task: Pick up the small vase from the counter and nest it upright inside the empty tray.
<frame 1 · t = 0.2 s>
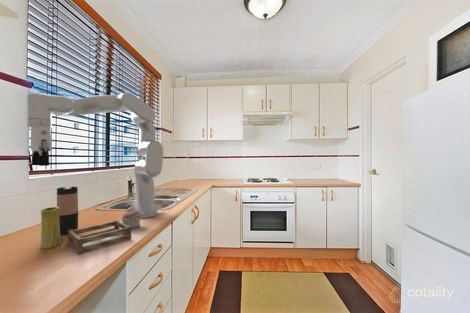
hand: (40, 165, 93), 31 cm above the counter, fingers open, 9 cm apart
travel mug: (68, 232, 101), on the counter
tray: (100, 241, 90), on the counter
vase: (51, 246, 86), on the counter
cupcake: (132, 227, 107), on the counter
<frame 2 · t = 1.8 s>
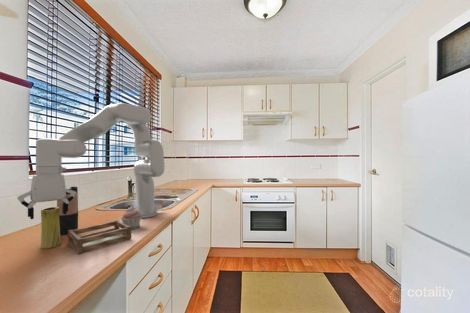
hand: (48, 215, 85), 12 cm above the counter, fingers open, 9 cm apart
nothing on the counter moved.
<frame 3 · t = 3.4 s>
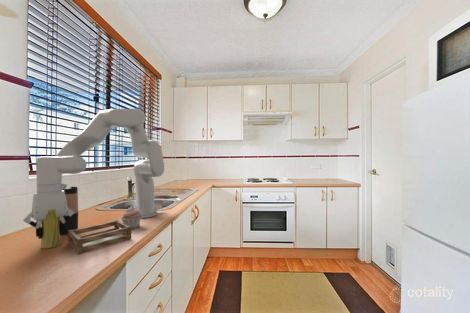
hand: (50, 235, 86), 4 cm above the counter, fingers closed on vase, 5 cm apart
vase: (51, 246, 86), on the counter, touching gripper
everything else where it was.
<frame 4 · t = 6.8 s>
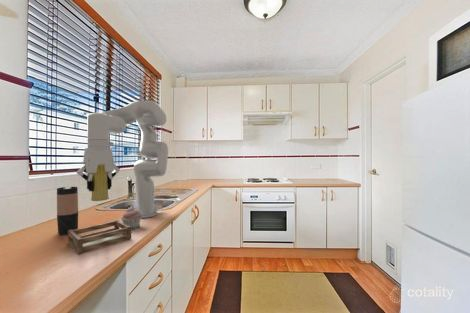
hand: (99, 189, 90), 21 cm above the counter, fingers closed on vase, 5 cm apart
vase: (100, 200, 90), point 17 cm above the counter, touching gripper
everything else where it was.
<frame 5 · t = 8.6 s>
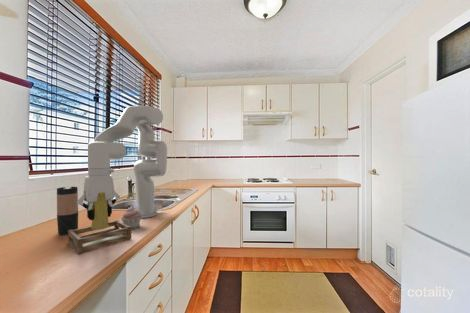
hand: (99, 217, 90), 10 cm above the counter, fingers closed on vase, 5 cm apart
vase: (100, 228, 90), point 5 cm above the counter, touching gripper
everything else where it was.
when the fingers open (6 cm above the counter, at t = 10.3 s): vase stays where it is, resting on tray.
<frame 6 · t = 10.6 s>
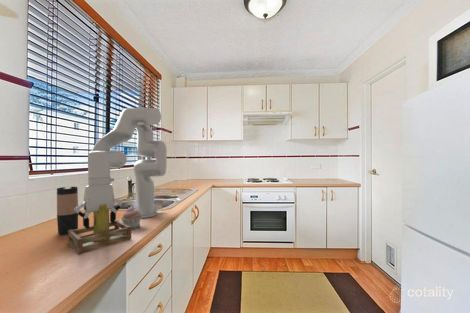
hand: (100, 224, 90), 7 cm above the counter, fingers open, 8 cm apart
vase: (101, 239, 90), point 1 cm above the counter, touching tray
everything else where it was.
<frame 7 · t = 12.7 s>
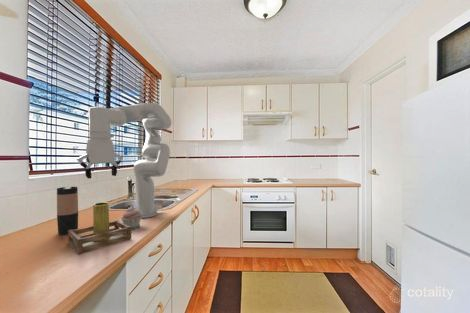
hand: (102, 176, 96), 25 cm above the counter, fingers open, 9 cm apart
nothing on the counter moved.
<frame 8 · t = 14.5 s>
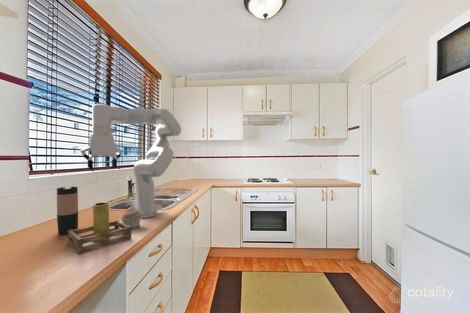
hand: (102, 168, 104), 28 cm above the counter, fingers open, 9 cm apart
nothing on the counter moved.
at the end: vase inside the target area on the tray (0.4 cm from its centre), point 0.6 cm above the tray's base; vase tilted 0°; the gripper is holding nothing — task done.
